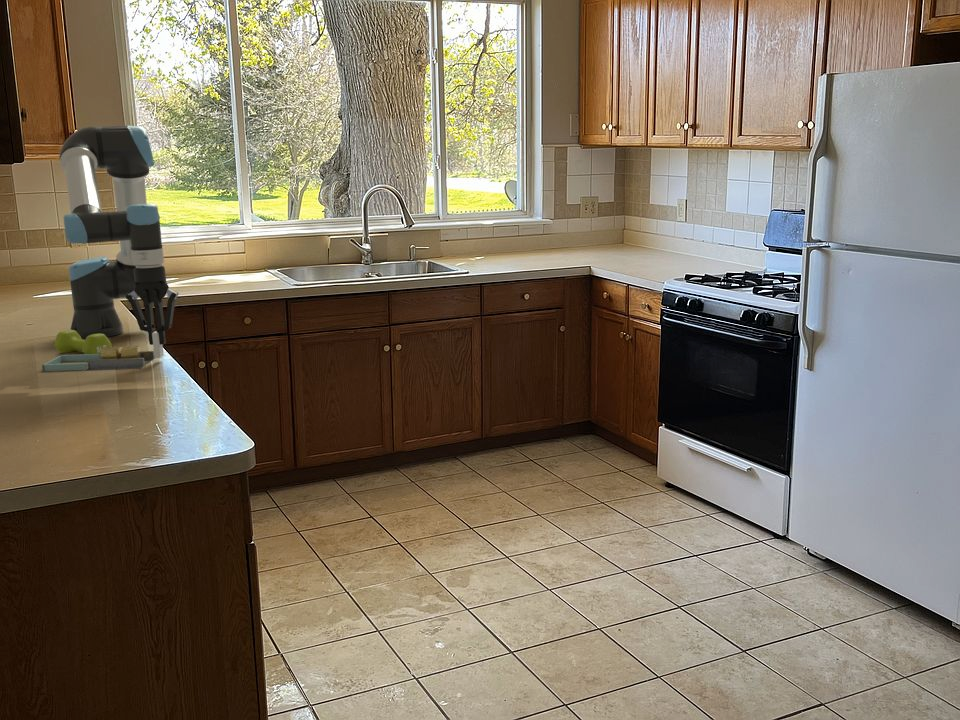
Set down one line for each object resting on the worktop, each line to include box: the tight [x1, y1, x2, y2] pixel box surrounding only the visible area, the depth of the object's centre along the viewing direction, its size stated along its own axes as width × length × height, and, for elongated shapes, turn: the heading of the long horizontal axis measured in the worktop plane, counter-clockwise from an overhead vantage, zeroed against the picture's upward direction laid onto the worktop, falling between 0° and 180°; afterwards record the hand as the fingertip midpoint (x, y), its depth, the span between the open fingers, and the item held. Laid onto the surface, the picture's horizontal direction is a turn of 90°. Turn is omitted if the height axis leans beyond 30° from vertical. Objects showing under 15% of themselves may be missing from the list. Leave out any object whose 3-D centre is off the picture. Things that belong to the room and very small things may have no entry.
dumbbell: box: [53, 329, 113, 355], centre depth 254 cm, size 16×8×7 cm, turn 58°
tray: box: [41, 353, 100, 372], centre depth 239 cm, size 11×11×3 cm
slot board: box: [84, 350, 156, 372], centre depth 239 cm, size 14×14×4 cm
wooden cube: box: [121, 345, 141, 359], centre depth 239 cm, size 4×4×4 cm
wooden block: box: [100, 346, 122, 359], centre depth 239 cm, size 4×4×4 cm
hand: (159, 356), depth 239 cm, fingers closed
